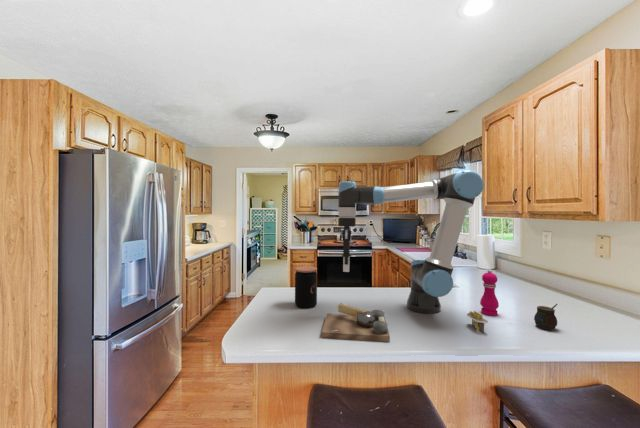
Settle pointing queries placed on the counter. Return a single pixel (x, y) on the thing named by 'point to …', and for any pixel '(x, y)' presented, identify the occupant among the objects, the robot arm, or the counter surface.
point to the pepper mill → (489, 294)
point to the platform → (477, 320)
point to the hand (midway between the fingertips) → (346, 271)
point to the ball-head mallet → (358, 315)
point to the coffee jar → (305, 287)
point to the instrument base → (355, 328)
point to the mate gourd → (545, 317)
